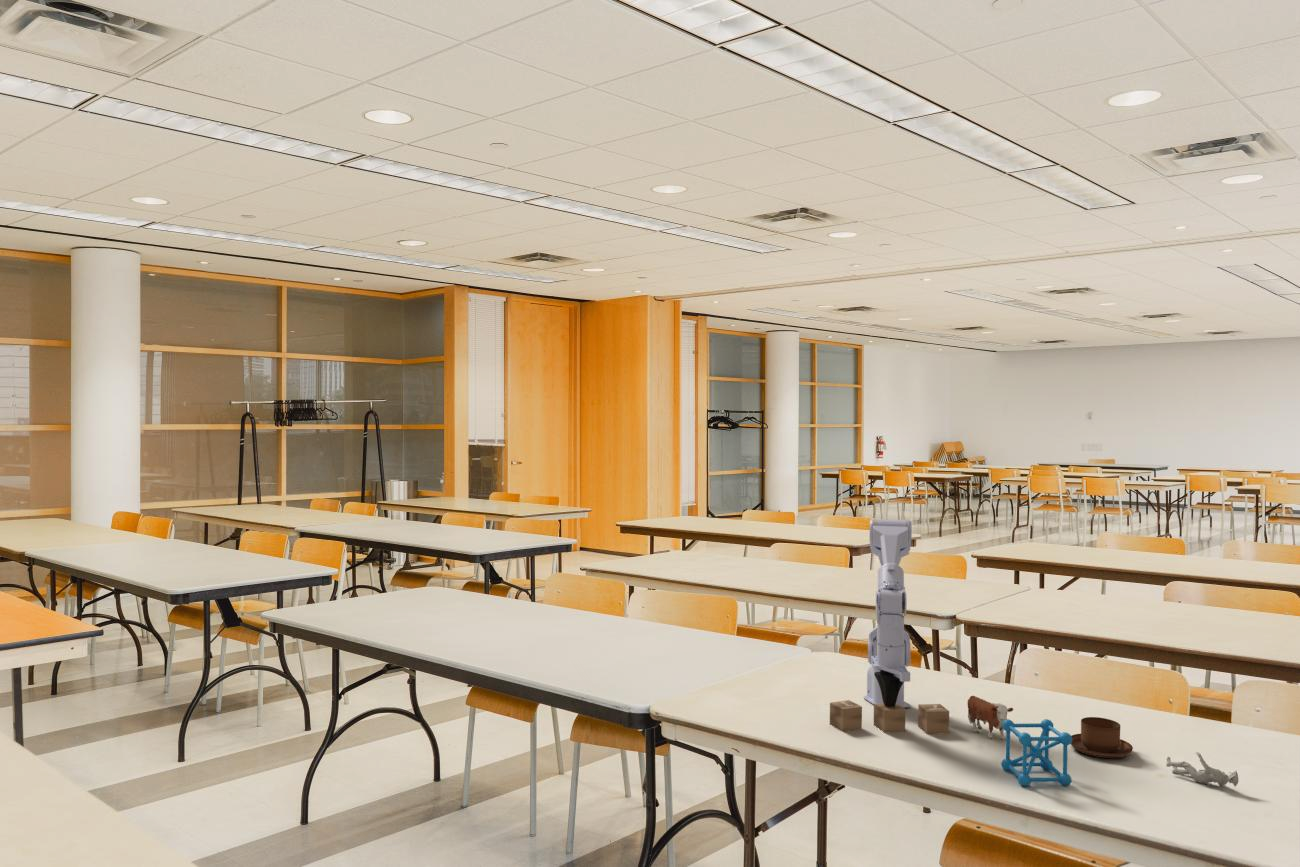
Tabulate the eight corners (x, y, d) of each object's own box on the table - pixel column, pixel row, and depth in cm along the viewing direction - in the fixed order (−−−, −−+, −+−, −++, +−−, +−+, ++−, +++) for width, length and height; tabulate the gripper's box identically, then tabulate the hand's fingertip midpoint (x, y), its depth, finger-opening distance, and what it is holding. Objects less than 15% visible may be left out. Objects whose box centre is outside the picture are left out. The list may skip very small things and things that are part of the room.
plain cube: (873, 725, 211) (873, 703, 211) (894, 724, 212) (894, 702, 212) (884, 733, 206) (884, 710, 206) (905, 731, 207) (905, 708, 207)
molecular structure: (1049, 768, 186) (1050, 717, 186) (1073, 788, 176) (1074, 734, 176) (999, 768, 186) (1000, 717, 186) (1020, 788, 176) (1021, 734, 176)
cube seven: (917, 726, 211) (918, 703, 211) (939, 726, 211) (940, 703, 211) (926, 734, 206) (926, 711, 206) (948, 733, 206) (949, 710, 206)
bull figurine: (1000, 747, 198) (1000, 708, 198) (962, 726, 211) (963, 690, 211) (1018, 745, 199) (1018, 706, 199) (979, 725, 212) (980, 688, 212)
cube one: (829, 724, 211) (829, 702, 211) (848, 722, 213) (848, 699, 213) (842, 731, 207) (842, 708, 207) (861, 729, 209) (862, 706, 209)
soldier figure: (1182, 774, 187) (1248, 772, 178) (1180, 796, 184) (1247, 795, 175) (1162, 750, 184) (1227, 747, 176) (1160, 773, 181) (1226, 771, 172)
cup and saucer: (1077, 738, 204) (1078, 709, 204) (1138, 751, 197) (1139, 721, 196) (1060, 753, 195) (1061, 723, 195) (1124, 767, 187) (1125, 736, 187)
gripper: (859, 637, 215) (858, 696, 215) (889, 653, 201) (888, 716, 201) (887, 635, 217) (886, 695, 217) (919, 651, 202) (918, 714, 203)
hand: (889, 705), depth 209 cm, fingers closed
